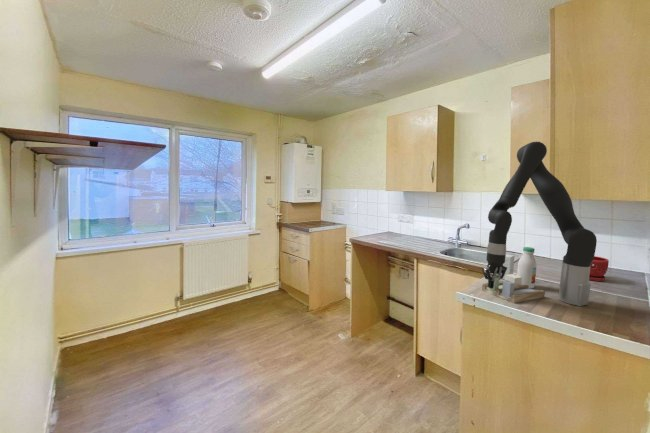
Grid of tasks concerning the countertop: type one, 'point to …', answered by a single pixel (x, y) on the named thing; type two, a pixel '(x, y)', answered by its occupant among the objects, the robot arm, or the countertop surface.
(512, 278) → the block
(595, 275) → the plant pot
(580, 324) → the countertop surface
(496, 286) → the pale green bracket
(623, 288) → the countertop surface
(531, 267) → the milk bottle
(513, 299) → the lane board
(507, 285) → the slat grey
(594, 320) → the countertop surface
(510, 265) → the small box
